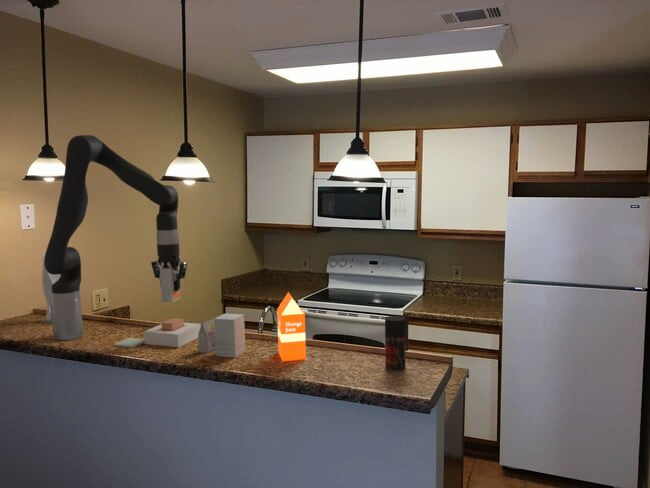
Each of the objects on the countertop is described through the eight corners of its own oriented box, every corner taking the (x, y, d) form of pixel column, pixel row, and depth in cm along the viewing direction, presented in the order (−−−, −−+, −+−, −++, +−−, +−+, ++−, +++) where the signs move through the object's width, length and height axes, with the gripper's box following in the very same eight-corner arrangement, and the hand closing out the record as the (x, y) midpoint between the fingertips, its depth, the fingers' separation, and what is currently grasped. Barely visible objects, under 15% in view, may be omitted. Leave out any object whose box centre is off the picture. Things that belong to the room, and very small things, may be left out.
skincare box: (172, 302, 189) (170, 268, 187) (161, 302, 190) (159, 268, 188) (180, 299, 195) (178, 266, 193) (169, 298, 195) (167, 266, 194)
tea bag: (199, 351, 180) (197, 322, 179) (213, 346, 185) (212, 317, 184) (206, 353, 178) (205, 323, 177) (221, 347, 183) (220, 319, 182)
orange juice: (301, 350, 179) (300, 291, 176) (306, 359, 170) (304, 296, 168) (278, 352, 177) (276, 292, 175) (281, 361, 168) (279, 298, 166)
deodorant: (383, 364, 164) (383, 316, 162) (402, 363, 164) (402, 315, 162) (387, 371, 158) (387, 321, 156) (407, 370, 158) (407, 320, 156)
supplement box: (246, 351, 179) (244, 314, 177) (235, 358, 172) (233, 319, 170) (226, 349, 181) (224, 312, 180) (215, 356, 174) (213, 318, 173)
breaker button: (161, 333, 191) (161, 322, 191) (173, 328, 197) (172, 318, 197) (172, 334, 189) (172, 323, 189) (183, 329, 196) (183, 318, 195)
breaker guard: (144, 343, 190) (143, 331, 189) (169, 333, 203) (168, 321, 202) (178, 347, 185) (177, 334, 184) (201, 336, 198) (200, 324, 197)
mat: (113, 345, 188) (113, 344, 188) (129, 339, 196) (129, 337, 195) (132, 347, 185) (132, 346, 185) (147, 341, 193) (147, 339, 193)
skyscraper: (39, 322, 223) (33, 254, 219) (56, 317, 230) (50, 252, 227) (53, 324, 219) (48, 255, 216) (70, 319, 226) (65, 253, 223)
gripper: (144, 243, 189) (147, 291, 191) (178, 244, 184) (181, 293, 186) (157, 241, 196) (160, 287, 198) (191, 241, 191) (193, 289, 193)
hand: (170, 290), depth 192 cm, fingers closed on skincare box, 4 cm apart
